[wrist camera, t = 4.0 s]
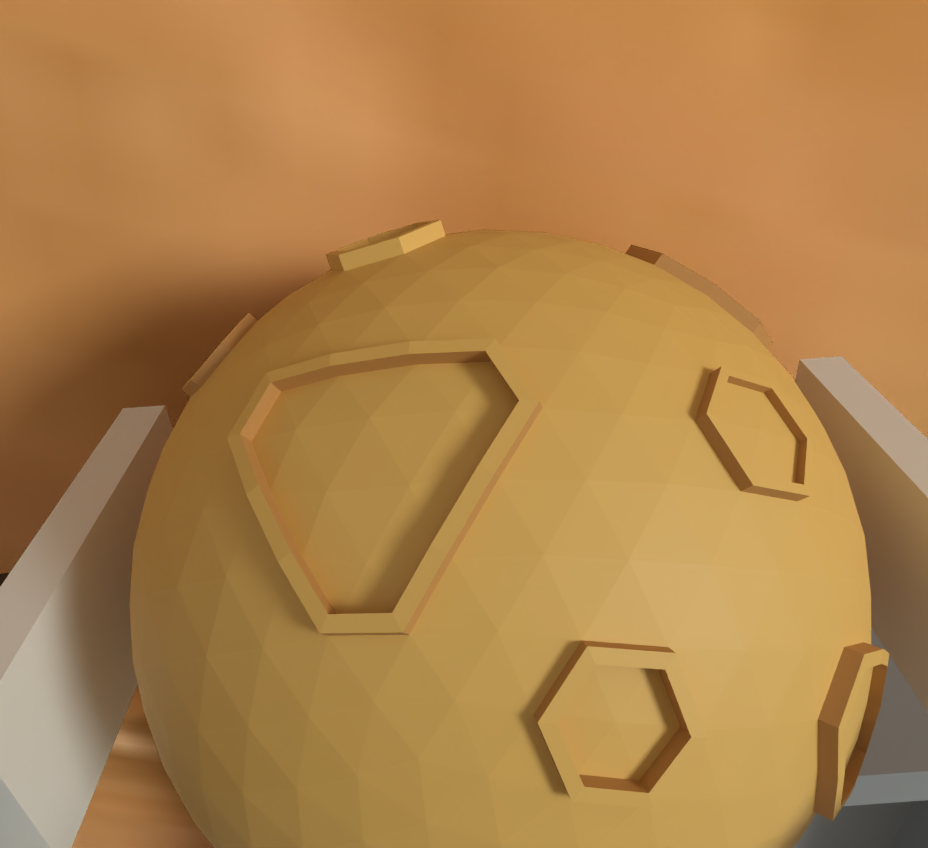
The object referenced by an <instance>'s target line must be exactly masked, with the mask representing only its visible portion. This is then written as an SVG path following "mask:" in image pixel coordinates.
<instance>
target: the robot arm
mask: <svg viewBox="0 0 928 848" xmlns="http://www.w3.org/2000/svg"><path fill="white" fill-rule="evenodd" d="M795 383H796V384H797V386H798V387H799V389H800V390H801V392H802V393H803V395H804V396H805V398H806V399H807V401H808V403H809V404H810V406H811V407H812V409H813V410H814V412H815V413H816V415H817V417H818V419H819V420H820V422H821V424H822V425H823V427H824V429H825V431H826V433H827V435H828V437H829V439H830V441H831V443H832V445H833V447H834V449H835V451H836V453H837V456H838V458H839V460H840V462H841V464H842V466H843V468H844V470H845V472H846V475H847V479H848V482H849V485H850V489H851V492H852V495H853V499H854V502H855V505H856V509H857V512H858V515H859V519H860V522H861V525H862V529H863V532H864V535H865V543H866V552H867V562H868V571H869V580H870V590H871V628H872V629H873V631H874V632H875V634H876V635H877V637H878V638H879V640H880V641H881V643H882V645H883V646H884V648H885V649H886V651H887V652H888V653H889V655H890V657H891V658H892V660H893V661H894V663H895V664H896V666H897V667H898V669H899V670H900V672H901V673H902V675H903V676H904V678H905V679H906V681H907V682H908V684H909V685H910V687H911V688H912V690H913V691H914V693H915V694H916V696H917V697H918V699H919V700H920V702H921V703H922V705H923V707H924V708H925V710H926V711H927V713H928V439H927V438H926V437H925V436H924V435H923V434H922V433H921V432H920V431H919V430H918V429H917V428H916V427H915V426H914V425H912V424H911V423H910V422H909V421H908V420H907V419H906V418H905V417H904V416H903V415H902V414H901V413H900V412H899V411H898V410H897V409H896V408H895V407H894V406H893V405H892V404H891V403H890V402H889V401H888V400H886V399H885V398H884V397H883V396H882V395H881V394H880V393H879V392H878V391H877V390H876V389H875V388H874V387H873V386H872V385H871V384H870V383H869V382H868V381H867V380H866V379H865V378H864V377H863V376H862V375H860V374H859V373H858V372H857V371H856V370H855V369H854V368H853V367H852V366H851V365H850V364H849V363H848V362H847V361H846V360H845V359H844V358H843V357H842V356H841V357H827V358H813V359H800V361H799V365H798V370H797V375H796V379H795ZM172 430H173V428H172V425H171V422H170V419H169V416H168V413H167V410H166V407H165V405H162V406H148V407H135V408H123V409H122V411H121V412H120V413H119V415H118V416H117V418H116V419H115V421H114V422H113V424H112V425H111V427H110V428H109V429H108V431H107V432H106V434H105V435H104V437H103V438H102V440H101V441H100V443H99V444H98V445H97V447H96V448H95V450H94V451H93V453H92V454H91V456H90V457H89V459H88V460H87V461H86V463H85V464H84V466H83V467H82V469H81V470H80V472H79V473H78V475H77V476H76V477H75V479H74V480H73V482H72V483H71V485H70V486H69V488H68V489H67V491H66V492H65V493H64V495H63V496H62V498H61V499H60V501H59V502H58V504H57V505H56V507H55V508H54V509H53V511H52V512H51V514H50V515H49V517H48V518H47V520H46V521H45V523H44V524H43V525H42V527H41V528H40V530H39V531H38V533H37V534H36V536H35V537H34V539H33V540H32V541H31V543H30V544H29V546H28V547H27V549H26V550H25V552H24V553H23V555H22V556H21V557H20V559H19V560H18V562H17V563H16V565H15V566H14V568H13V569H12V570H11V572H10V573H4V574H0V848H72V845H73V843H74V840H75V838H76V835H77V833H78V830H79V828H80V825H81V823H82V820H83V818H84V815H85V813H86V811H87V808H88V806H89V803H90V801H91V798H92V796H93V793H94V791H95V788H96V786H97V783H98V781H99V778H100V776H101V773H102V771H103V769H104V766H105V764H106V761H107V759H108V756H109V754H110V751H111V749H112V746H113V744H114V741H115V739H116V736H117V734H118V732H119V729H120V727H121V724H122V722H123V719H124V717H125V714H126V712H127V709H128V707H129V704H130V702H131V699H132V697H133V694H134V692H135V690H136V687H137V685H138V683H137V678H136V674H135V669H134V665H133V657H132V641H131V624H130V607H129V603H130V589H131V574H132V559H133V547H134V543H135V539H136V535H137V531H138V527H139V523H140V519H141V514H142V510H143V506H144V502H145V498H146V494H147V490H148V487H149V485H150V482H151V479H152V477H153V474H154V471H155V469H156V466H157V463H158V461H159V458H160V455H161V453H162V450H163V447H164V445H165V443H166V441H167V439H168V437H169V436H170V434H171V432H172Z"/></svg>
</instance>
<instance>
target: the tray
mask: <svg viewBox="0 0 928 848" xmlns="http://www.w3.org/2000/svg"><path fill="white" fill-rule="evenodd" d="M871 645H874V646H876V647H879V648H882V649H884V650H886V649H885V648H884V646H883V645H882V643H881V641H880V640H879V638H878V637H877V635H876V634H875V632H874V631H873V629H872V628H871ZM793 848H928V713H927V711H926V710H925V708H924V707H923V705H922V703H921V702H920V700H919V699H918V697H917V696H916V694H915V693H914V691H913V690H912V688H911V687H910V685H909V684H908V682H907V681H906V679H905V678H904V676H903V675H902V673H901V672H900V670H899V669H898V667H897V666H896V664H895V663H894V661H893V660H892V658H891V657H890V655H889V659H888V667H887V673H886V678H885V684H884V690H883V696H882V702H881V707H880V711H879V714H878V717H877V720H876V723H875V727H874V730H873V733H872V736H871V739H870V742H869V746H868V749H867V752H866V755H865V758H864V761H863V763H862V766H861V769H860V772H859V775H858V778H857V780H856V783H855V786H854V788H853V790H852V793H851V795H850V797H849V798H848V800H847V801H846V803H845V804H844V806H843V807H842V808H841V810H840V811H839V813H838V814H837V816H836V817H835V819H834V820H833V821H831V820H829V819H827V818H825V817H823V816H821V815H819V814H817V813H816V814H815V816H814V818H813V819H812V821H811V823H810V824H809V826H808V828H807V829H806V831H805V833H804V834H803V836H802V837H801V839H800V840H799V841H798V842H797V844H796V845H795V846H794V847H793Z"/></svg>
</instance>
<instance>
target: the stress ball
mask: <svg viewBox="0 0 928 848" xmlns="http://www.w3.org/2000/svg"><path fill="white" fill-rule="evenodd" d="M326 256H327V259H328V262H329V265H330V267H331V270H330V271H328V272H326V273H325V274H323V275H321V276H320V277H318V278H316V279H315V280H313V281H311V282H310V283H308V284H306V285H305V286H303V287H301V288H300V289H298V290H296V291H295V292H293V293H291V294H290V295H288V296H287V297H286V298H285V299H283V300H282V301H281V302H280V303H278V304H277V305H276V306H275V307H274V308H272V309H271V310H270V311H269V312H267V313H266V314H265V315H264V316H262V317H261V318H260V319H259V320H257V319H256V318H254V317H253V316H252V315H251V314H250V313H248V314H247V315H246V316H245V317H244V318H243V319H242V320H241V321H240V322H239V323H238V324H237V325H236V326H235V327H234V328H233V329H232V330H231V331H230V333H229V334H228V335H227V336H226V337H225V338H224V340H223V341H222V342H221V343H220V344H219V345H218V346H217V348H216V349H215V350H214V351H213V352H212V353H211V355H210V356H209V357H208V358H207V359H206V360H205V362H204V363H203V364H202V365H201V366H200V367H199V369H198V370H197V371H196V372H195V373H194V374H193V376H192V377H191V378H190V379H189V380H188V381H187V383H186V384H185V385H184V387H183V388H182V389H181V390H182V391H184V392H185V393H186V394H188V395H189V396H190V399H189V401H188V402H187V404H186V406H185V408H184V410H183V412H182V414H181V415H180V417H179V419H178V421H177V423H176V425H175V426H174V428H173V430H172V432H171V434H170V436H169V437H168V439H167V441H166V443H165V445H164V447H163V450H162V453H161V455H160V458H159V461H158V463H157V466H156V469H155V471H154V474H153V477H152V479H151V482H150V485H149V487H148V490H147V494H146V498H145V502H144V506H143V510H142V514H141V519H140V523H139V527H138V531H137V535H136V539H135V543H134V547H133V559H132V574H131V589H130V603H129V607H130V624H131V641H132V657H133V665H134V669H135V674H136V678H137V683H138V687H139V692H140V696H141V701H142V705H143V710H144V713H145V716H146V719H147V722H148V725H149V728H150V731H151V733H152V736H153V739H154V742H155V745H156V748H157V751H158V753H159V756H160V759H161V762H162V765H163V768H164V770H165V771H166V773H167V775H168V777H169V779H170V780H171V782H172V784H173V786H174V788H175V789H176V791H177V793H178V795H179V797H180V798H181V800H182V802H183V804H184V806H185V807H186V809H187V811H188V813H189V815H190V816H191V818H192V820H193V822H194V823H195V824H196V826H197V827H198V828H199V829H200V831H201V832H202V833H203V834H204V836H205V837H206V838H207V839H208V841H209V842H210V843H211V844H212V846H213V847H214V848H793V847H794V846H795V845H796V844H797V842H798V841H799V840H800V839H801V837H802V836H803V834H804V833H805V831H806V829H807V828H808V826H809V824H810V823H811V821H812V819H813V818H814V816H815V814H816V813H817V814H819V815H821V816H823V817H825V818H827V819H829V820H831V821H833V820H834V819H835V817H836V816H837V814H838V813H839V811H840V810H841V808H842V807H843V806H844V804H845V803H846V801H847V800H848V798H849V797H850V795H851V793H852V790H853V788H854V786H855V783H856V780H857V778H858V775H859V772H860V769H861V766H862V763H863V761H864V758H865V755H866V752H867V749H868V746H869V742H870V739H871V736H872V733H873V730H874V727H875V723H876V720H877V717H878V714H879V711H880V707H881V702H882V696H883V690H884V684H885V678H886V673H887V667H888V659H889V653H888V652H887V651H886V650H884V649H882V648H879V647H876V646H874V645H871V590H870V580H869V571H868V562H867V552H866V543H865V535H864V532H863V529H862V525H861V522H860V519H859V515H858V512H857V509H856V505H855V502H854V499H853V495H852V492H851V489H850V485H849V482H848V479H847V475H846V472H845V470H844V468H843V466H842V464H841V462H840V460H839V458H838V456H837V453H836V451H835V449H834V447H833V445H832V443H831V441H830V439H829V437H828V435H827V433H826V431H825V429H824V427H823V425H822V424H821V422H820V420H819V419H818V417H817V415H816V413H815V412H814V410H813V409H812V407H811V406H810V404H809V403H808V401H807V399H806V398H805V396H804V395H803V393H802V392H801V390H800V389H799V387H798V386H797V384H796V383H795V381H794V379H793V378H792V376H791V375H790V374H789V373H788V372H787V371H786V370H785V369H784V367H783V366H782V365H781V364H780V363H779V362H778V361H777V360H776V358H775V357H774V356H773V355H772V354H771V353H770V352H769V351H768V348H769V346H770V345H771V344H772V343H773V342H772V340H771V338H770V336H769V334H768V333H767V331H766V329H765V327H764V326H763V324H762V322H761V321H760V320H759V319H757V318H756V317H755V316H754V315H752V314H751V313H750V312H749V311H748V310H746V309H745V308H744V307H743V306H742V305H740V304H739V303H738V302H737V301H735V300H734V299H733V298H732V297H731V296H729V295H728V294H727V293H726V292H724V291H723V290H722V289H721V288H720V287H718V286H717V285H716V284H714V283H713V282H711V281H709V280H707V279H706V278H704V277H702V276H700V275H699V274H697V273H695V272H694V271H692V270H690V269H688V268H687V267H685V266H683V265H681V264H680V263H678V262H676V261H674V260H673V259H671V258H669V257H668V256H666V255H664V254H662V253H659V252H655V251H652V250H648V249H645V248H641V247H638V246H634V245H631V246H630V248H629V249H628V250H627V252H626V253H622V252H619V251H617V250H614V249H611V248H609V247H606V246H604V245H601V244H597V243H593V242H588V241H583V240H579V239H574V238H569V237H564V236H560V235H555V234H550V233H545V232H528V231H507V230H486V229H484V230H476V231H468V232H459V233H451V234H445V233H444V229H443V226H442V223H441V220H436V221H426V222H419V223H414V224H411V225H408V226H405V227H401V228H398V229H395V230H392V231H388V232H385V233H382V234H379V235H375V236H372V237H369V238H366V239H363V240H361V241H358V242H356V243H353V244H351V245H348V246H346V247H343V248H341V249H338V250H335V251H333V252H331V253H328V254H326Z"/></svg>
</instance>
